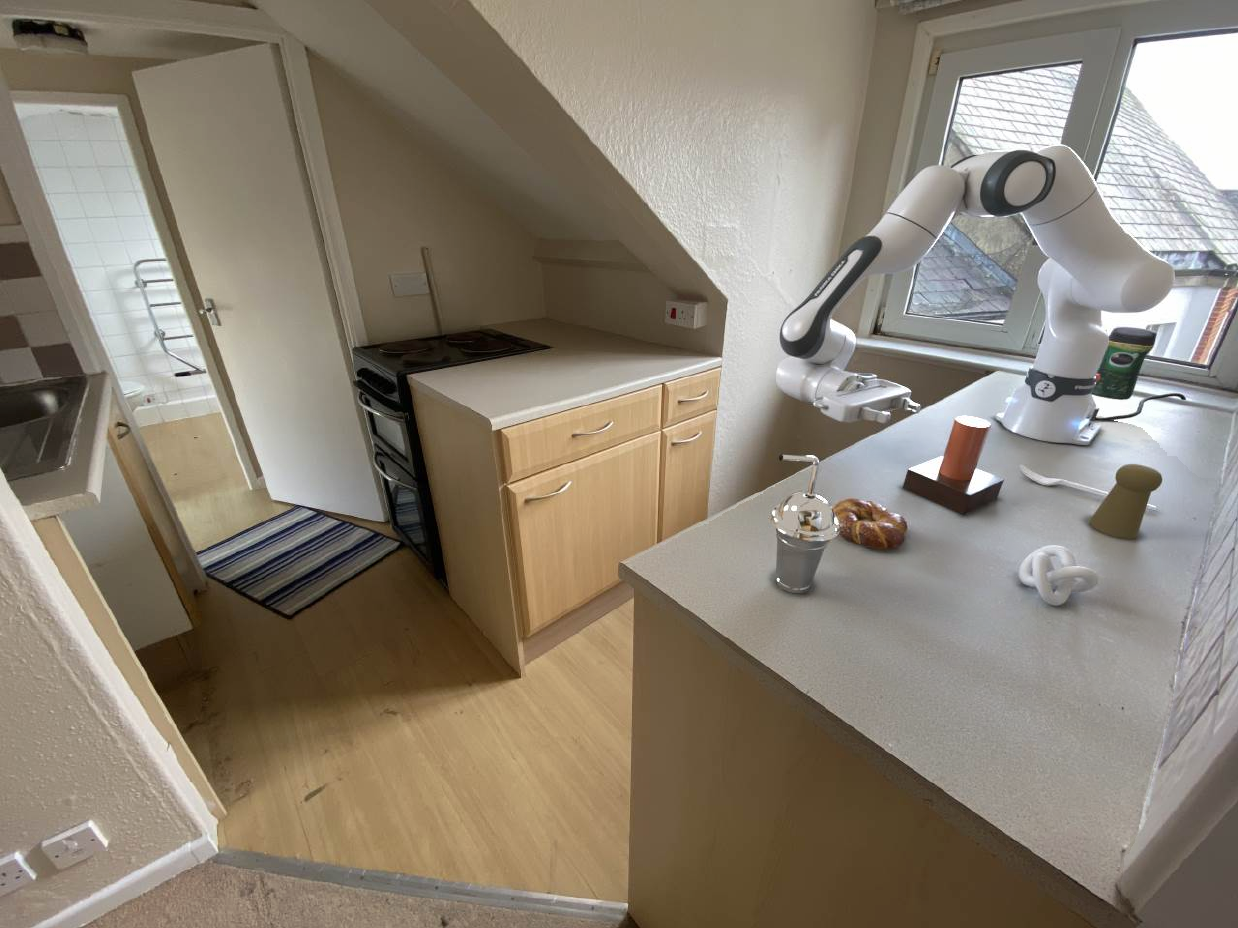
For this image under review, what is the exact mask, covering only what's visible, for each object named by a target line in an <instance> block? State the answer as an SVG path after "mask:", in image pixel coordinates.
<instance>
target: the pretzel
mask: <svg viewBox="0 0 1238 928" xmlns="http://www.w3.org/2000/svg"><path fill="white" fill-rule="evenodd" d="M832 508H833V511H834V515H835V516H836V517H837V518H838V520H839V523H840V531H839V533H838V535H840V537H841V538H843V539H844V540H846V541H848V542H850V543H855V544H859V545H861V546H863V547H866V548H872V549H887V550H888V549H895V548H897V547H900V546H902V545H903V544H904V542H905V540H906V536H905V533H906V532H907V530H908V524H907V523H908V522H907V521H906V519H905V518H904V517H903V516H902V515H901V514H899V513H897V512H888V508H886V507H885V506H883V505H882V504H880V503H879V502H876V501H870V500H863V499H860V498H859V499H858V498H855V497H854V498H852V497H851V498H845V499H843V500H840V501H839V502H837V503H836V504H835V505H834V506H833V507H832Z"/></svg>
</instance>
